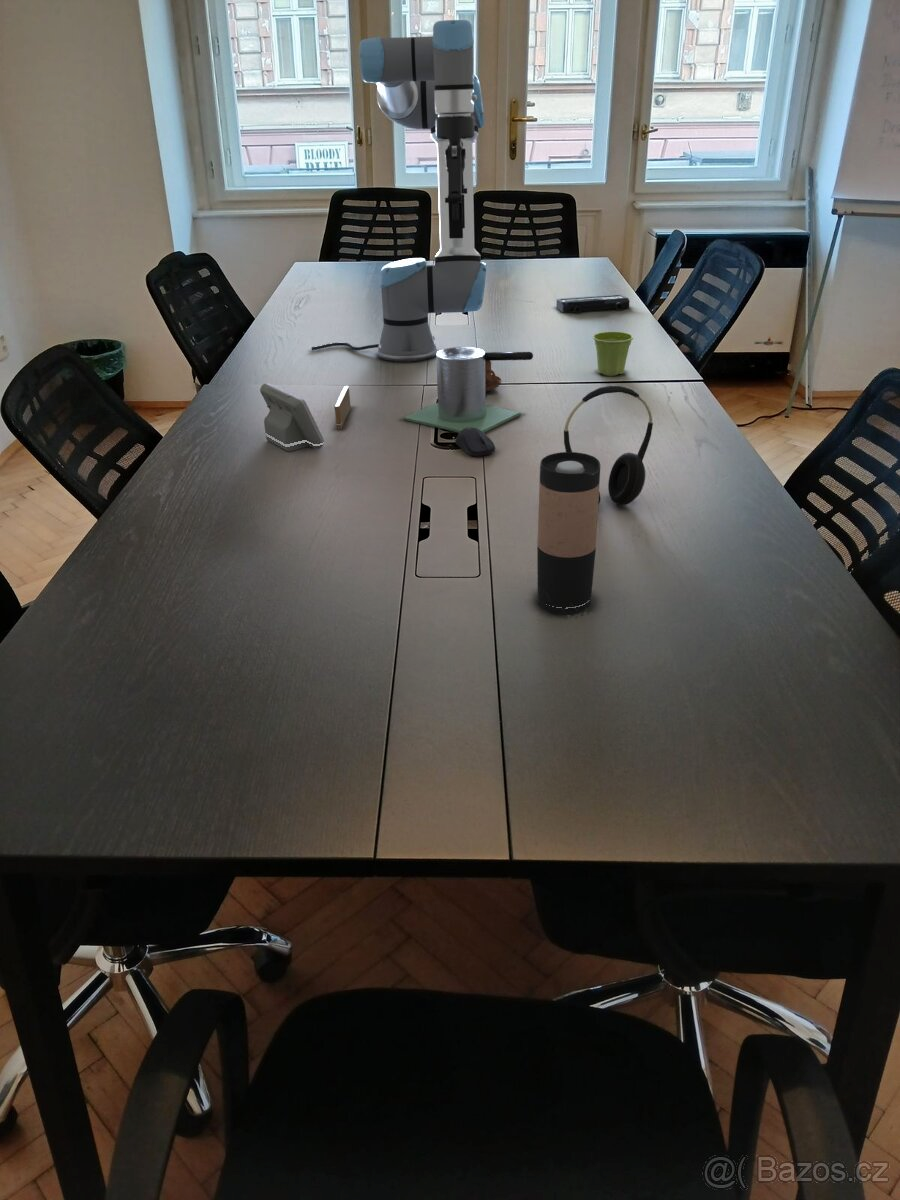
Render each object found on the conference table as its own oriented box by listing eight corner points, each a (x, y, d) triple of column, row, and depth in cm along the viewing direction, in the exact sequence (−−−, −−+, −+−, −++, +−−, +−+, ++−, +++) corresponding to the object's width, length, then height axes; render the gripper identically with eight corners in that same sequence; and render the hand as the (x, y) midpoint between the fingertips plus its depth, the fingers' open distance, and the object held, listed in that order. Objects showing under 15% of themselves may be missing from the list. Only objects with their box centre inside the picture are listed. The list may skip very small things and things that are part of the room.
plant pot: (630, 378, 208) (632, 341, 203) (589, 377, 209) (591, 340, 205) (631, 367, 215) (633, 331, 211) (592, 366, 217) (594, 331, 213)
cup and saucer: (509, 384, 207) (509, 357, 203) (489, 399, 197) (489, 371, 194) (462, 379, 211) (462, 353, 208) (441, 393, 202) (440, 366, 199)
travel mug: (531, 589, 123) (534, 453, 112) (585, 585, 123) (593, 449, 113) (541, 617, 116) (545, 475, 106) (598, 613, 116) (607, 472, 106)
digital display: (565, 303, 266) (556, 297, 274) (564, 314, 267) (555, 308, 276) (632, 298, 268) (621, 293, 277) (631, 309, 270) (620, 303, 279)
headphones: (655, 510, 144) (667, 389, 134) (568, 520, 142) (574, 398, 132) (636, 490, 151) (645, 374, 141) (553, 499, 149) (557, 382, 139)
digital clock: (327, 450, 172) (322, 396, 167) (282, 458, 169) (275, 404, 163) (302, 426, 185) (296, 375, 179) (260, 433, 182) (252, 382, 176)
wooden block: (336, 429, 182) (334, 406, 180) (346, 408, 195) (344, 385, 192) (341, 429, 182) (339, 406, 180) (350, 408, 194) (348, 385, 192)
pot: (404, 392, 180) (482, 309, 171) (408, 378, 188) (483, 298, 179) (461, 445, 185) (540, 367, 176) (463, 429, 193) (538, 354, 184)
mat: (403, 419, 186) (403, 417, 186) (449, 400, 197) (449, 397, 197) (476, 436, 176) (476, 433, 176) (520, 414, 187) (520, 412, 187)
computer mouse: (473, 459, 165) (473, 439, 163) (450, 445, 173) (450, 425, 171) (499, 454, 168) (499, 434, 166) (475, 439, 175) (475, 420, 173)
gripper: (472, 117, 160) (474, 242, 170) (475, 112, 181) (476, 224, 192) (431, 118, 160) (435, 243, 171) (438, 114, 181) (442, 224, 192)
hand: (457, 233), depth 181 cm, fingers open, 13 cm apart
